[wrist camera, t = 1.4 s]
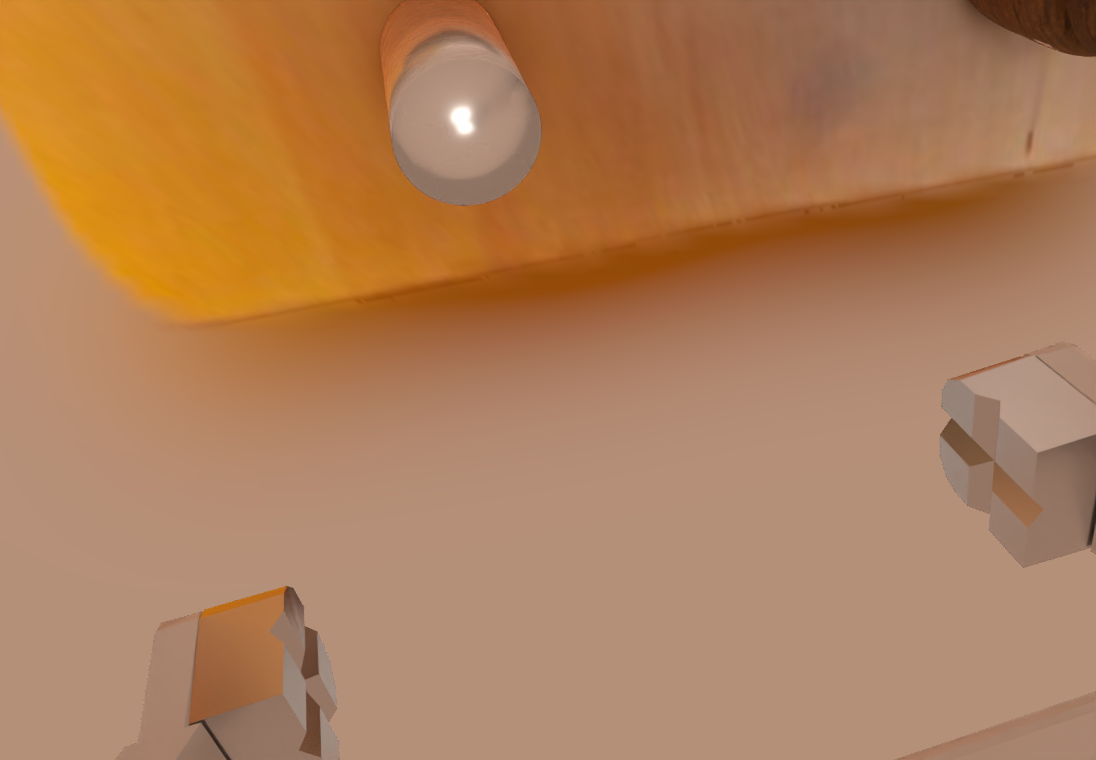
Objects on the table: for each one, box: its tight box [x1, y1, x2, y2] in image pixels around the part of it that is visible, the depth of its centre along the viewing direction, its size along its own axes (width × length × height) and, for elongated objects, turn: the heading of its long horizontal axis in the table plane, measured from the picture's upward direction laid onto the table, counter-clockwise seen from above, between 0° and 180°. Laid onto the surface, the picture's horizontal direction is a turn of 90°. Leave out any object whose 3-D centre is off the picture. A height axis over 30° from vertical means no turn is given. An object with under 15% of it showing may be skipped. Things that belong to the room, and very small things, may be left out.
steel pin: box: [380, 0, 542, 206], centre depth 29 cm, size 4×4×8 cm
